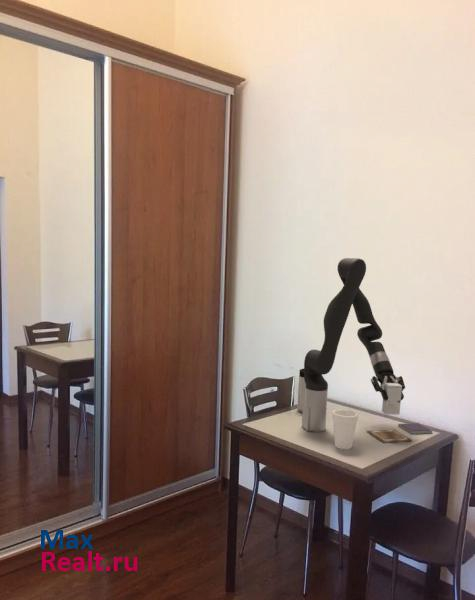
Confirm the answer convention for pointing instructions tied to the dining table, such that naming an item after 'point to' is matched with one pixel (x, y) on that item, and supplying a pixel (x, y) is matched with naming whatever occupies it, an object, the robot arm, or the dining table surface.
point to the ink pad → (415, 428)
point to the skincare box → (392, 399)
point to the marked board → (389, 436)
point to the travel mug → (301, 391)
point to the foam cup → (344, 427)
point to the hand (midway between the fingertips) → (394, 399)
